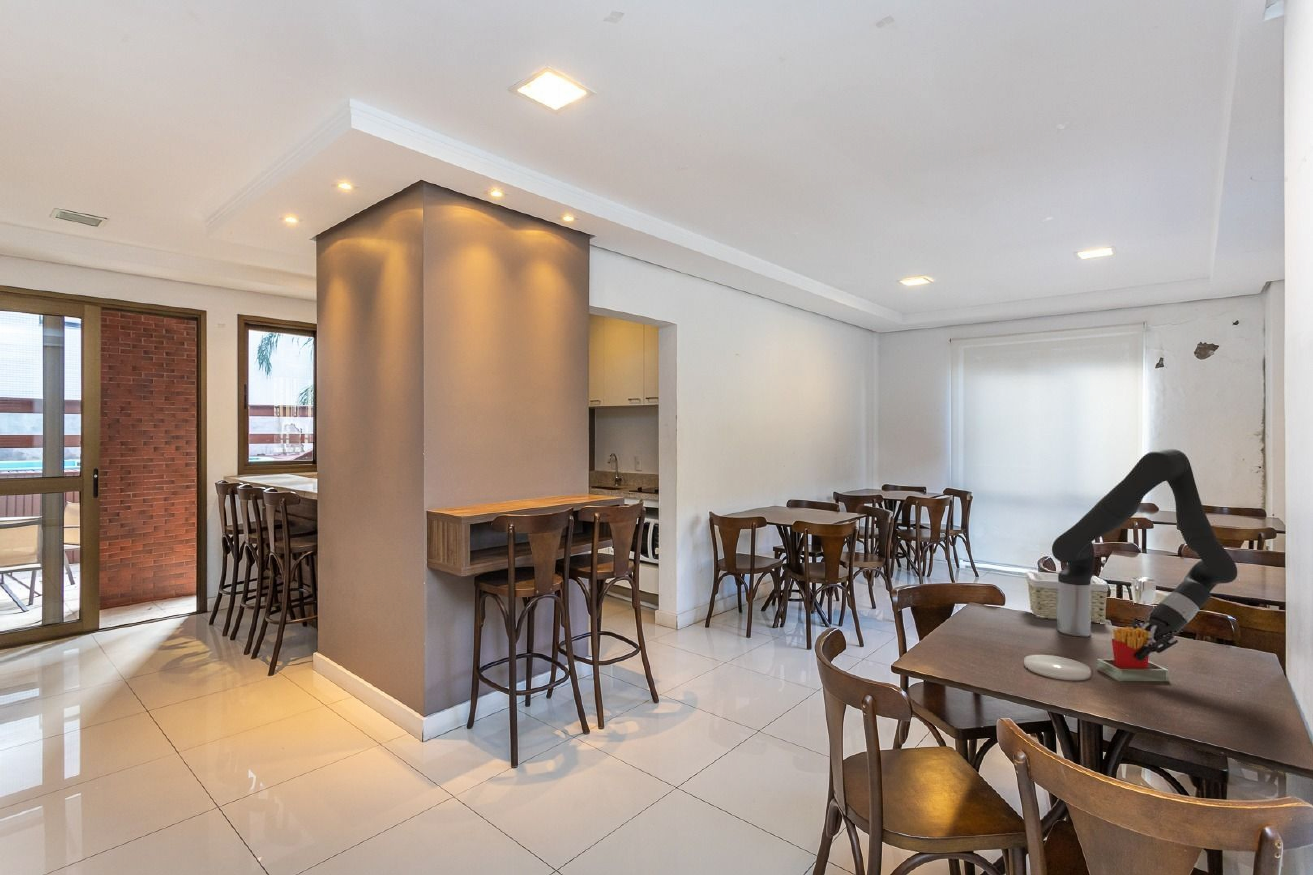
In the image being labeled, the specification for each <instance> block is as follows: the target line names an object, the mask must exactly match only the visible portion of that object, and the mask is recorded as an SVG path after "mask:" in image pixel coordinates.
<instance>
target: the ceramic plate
mask: <svg viewBox="0 0 1313 875" xmlns="http://www.w3.org/2000/svg"><path fill="white" fill-rule="evenodd" d="M1023 661H1024V665H1023V666H1024V667H1025V668H1026V669H1027V668H1028V669H1027V670H1029V671H1030V672H1032V673H1035V674H1036V675H1037V674H1038V675H1040V676H1044V677H1047V678H1052V679H1056V680H1064V681H1084V680H1085V681H1086V680H1088V679H1090V677H1091V673H1092V671H1091V667H1089V666H1088V665H1086V664H1085V663H1082V662H1080V661H1078V660H1074V659H1071V658H1067V657H1064V656H1057V655H1053V654H1051V655H1050V654H1031V655H1027V656H1025V657H1024V659H1023Z"/></svg>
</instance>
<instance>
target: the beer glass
mask: <svg viewBox="0 0 1313 875" xmlns="http://www.w3.org/2000/svg"><path fill="white" fill-rule="evenodd" d="M1156 589H1157V588H1156V580H1155V579H1153V578H1149V577H1140V576H1139V577H1138V576H1135V577H1132V578H1131V598H1132V602H1134V603H1143V604H1154V605H1155V602H1156V594H1157V593H1156V592H1157V591H1156ZM1134 603H1133V604H1134Z"/></svg>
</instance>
